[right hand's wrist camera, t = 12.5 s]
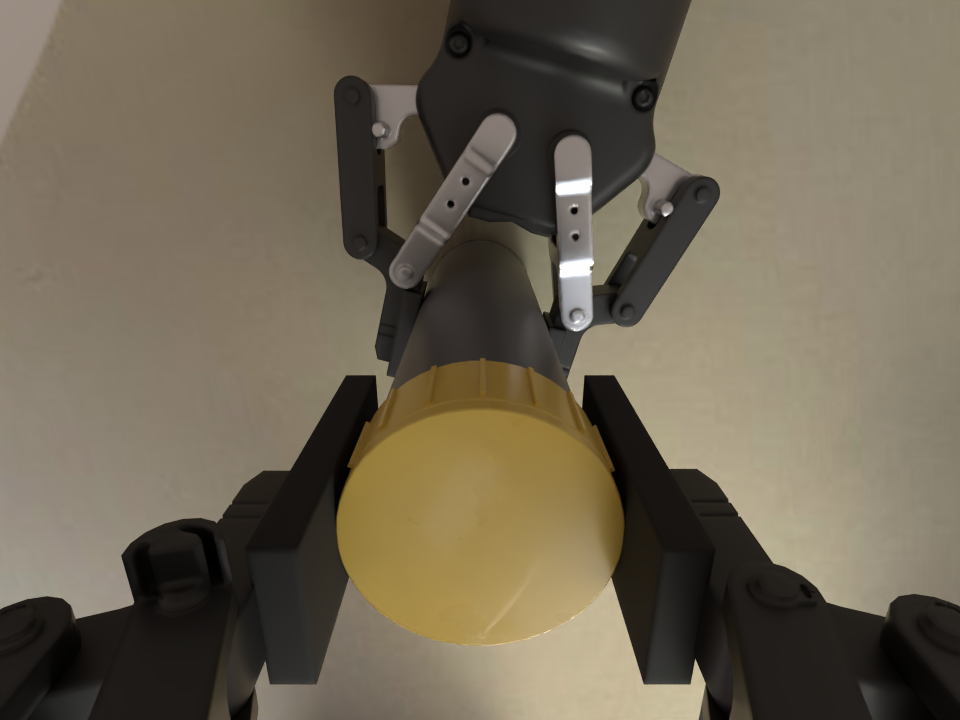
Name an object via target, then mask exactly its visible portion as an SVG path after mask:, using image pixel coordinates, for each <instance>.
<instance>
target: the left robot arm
mask: <svg viewBox="0 0 960 720" xmlns="http://www.w3.org/2000/svg"><path fill="white" fill-rule="evenodd" d="M690 3H691V0H451V3H450V8H449V13H448V18H447V22H446V27H445V32H444V37H443V41H442V45H441V48H440V51H439V53H438V55H437V57H436V59H435V61H434V62H433V64H432V65H431V67H430V68H429V69H428V70H427V72H426V73H425V74H424V75H423V76H422V78H421V80H420V82H419V84H418V85H400V84H370V83H367V82H366V81H364V80H362V79H360V78H359V77H356V76H346V77H343V78H342V79H341V80H339V82H338V83H337V84H336V86H335V90H334V103H335V119H336V134H337V150H338V166H339V181H340V197H341V212H342V228H343V243H344V247H345V249H346V251H347V253H348V254H349V255H350V256H352V257H354V258H356V259H363V260H365V261H366V262H368V263H369V264H371V265H372V266H374V267H375V268H377V269H378V270H379V271H380V272H381V273H382V274H383V276H384V277H385V280H386V284H387V289H386V294H385V299H384V304H383V309H382V314H381V319H380V324H379V329H378V334H377V339H376V344H375V349H376V354H377V359H379V360H383V361H387V362H389V366H388V370H387V376H391V377H395V375H396V373H397V370H398V367H399V365H400V362H401V359H402V356H403V354H404V351H405V348H406V346H407V343H408V340H409V338H410V335H411V332H412V329H413V327H414V324H415V321H416V319H417V316H418V313H419V311H420V308H421V305H422V302H423V300H424V296H425V291H426V287H427V283H428V282H427V281H423V278H424V274H425V273H426V271H427V270H428V268H429V267H430V265H431V264H432V262H433V261H434V259H435V258H436V256H437V255H438V253H439V252H440V250H441V249H442V247H443V246H444V245H445V243H446V242H447V241H448V239H449V238H450V237H451V235H452V234H453V232H454V231H455V229H456V228H457V226H458V225H459V223H460V222H461V220H462V219H463V217H464V216H465V214H466V213H468V214H469V215H468V216H469V217H473V218H477V219H480V220H484V221H488V222H513V223H515V224H517V225H519V226H520V227H522V228H524V229H526V230H527V231H529V232H531V233H534V234H537V235H541V236H545V237H548V245H549V255H550V260H551V272H552V288H553V304H552V307H551V310H550V313H548V312H543V318H544V321H545V323H546V326H547V329H548V332H549V334H550V337H551V340H552V342H553V345H554V348H555V350H556V353H557V356H558V358H559V361H560V364H561V367H562V369H563V372H564V375H565V377H566V380H567V377H568V374H569V372H570V369H571V366H572V363H573V360H574V357H575V354H576V351H577V348H578V345H579V342H580V339H581V337H582V335H583V334H584V332H585V331H586V330H588V329H589V328H591V327H593V326H595V325H602V324H613V323H616V324H617V325H619V326H622V327H630V326H633V325H635V324H637V323H638V322H639V321H640V320H641V318H642V317H643V315H644V314H645V312H646V310H647V309H648V307H649V306H650V304H651V303H652V301H653V300H654V298H655V297H656V295H657V294H658V292H659V291H660V289H661V287H662V286H663V284H664V283H665V281H666V280H667V278H668V277H669V275H670V274H671V272H672V271H673V269H674V268H675V266H676V264H677V263H678V261H679V260H680V258H681V257H682V255H683V254H684V252H685V251H686V249H687V248H688V246H689V245H690V243H691V241H692V240H693V238H694V237H695V235H696V234H697V232H698V231H699V229H700V228H701V226H702V225H703V223H704V222H705V220H706V218H707V217H708V215H709V214H710V212H711V211H712V209H713V208H714V206H715V205H716V203H717V201H718V199H719V196H720V188H719V185H718V183H717V182H716V181H715V180H714V179H712V178H710V177H705V176H702V175H697V174H691V173H689V172H687V171H685V170H684V169H682V168H680V167H679V166H677V165H675V164H674V163H672V162H670V161H669V160H667V159H665V158H663V157H662V156H660V155H658V154H657V153H655V137H654V131H653V116H654V110H655V106H656V103H657V100H658V97H659V94H660V92H661V89H662V86H663V83H664V80H665V77H666V74H667V71H668V68H669V65H670V62H671V59H672V56H673V53H674V50H675V47H676V44H677V41H678V39H679V36H680V33H681V30H682V27H683V24H684V21H685V18H686V15H687V12H688V9H689V6H690ZM414 116H419V118H420V120H421V123H422V125H423V128H424V130H425V133H426V135H427V138H428V140H429V143H430V146H431V148H432V151H433V153H434V156H435V158H436V161H437V163H438V166H439V168H440V171H441V173H442V176H443V178H444V182H443V184H442V185H441V187H440V189H439V190H438V192H437V193H436V195H435V196H434V198H433V199H432V201H431V202H430V204H429V205H428V207H427V209H426V210H425V212H424V213H423V215H422V216H421V218H420V219H419V221H418V223H417V224H416V226H415V228H414V229H413V231H412V232H411V234H410V235H409V237H408V238H407V240H404V239H403V238H401V237H400V236H398V235H397V234H395V233H394V232H392V231H391V230H389V229H388V228H387V207H386V178H385V150H384V149H391V148H393V147H395V146H397V145H398V144H399V142H400V141H401V138H402V134H403V128H404V125H405V123H406V122H407V121H408V120H409V119H410V118H412V117H414ZM637 179H639V180H640V182H641V185H642V193H641V196H640V199H639V201H638V211H639V214H640V215H641V216H642V217H643V218H644V220H643V221H642V223H641V225H640V226H639V228H638V229H637V231H636V233H635V234H634V236H633V238H632V239H631V241H630V243H629V244H628V246H627V247H626V249H625V251H624V252H623V254H622V256H621V257H620V259H619V260H618V262H617V264H616V265H615V267H614V269H613V270H612V272H611V274H610V275H609V277H608V278H607V280H606V282H605V283H604V285H597V286H592V268H593V264H594V253H593V225H592V215H593V214H594V213H595V212H597V211H598V210H599V209H600V208H602V207H603V206H604V205H605V204H607V203H608V202H609V201H610V200H612V199H613V198H614V197H615V196H617V195H618V194H619V193H620V192H622V191H623V190H624V189H625V188H627V187H628V186H629V185H630V184H632V183H633V182H634V181H635V180H637Z"/></svg>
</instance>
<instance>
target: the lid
mask: <svg viewBox="0 0 960 720" xmlns="http://www.w3.org/2000/svg"><path fill="white" fill-rule="evenodd" d="M347 467H349V468H351V470H350V472H349V475H348V477H347V480H346V482H345V485H344V488H343V490H342V493H341V496H340V499H339V503H338V508H337V513H336V533H337V542H338V549H339V553H340V556H341V559H342V563H343V565H344V567H345V569H346V571H347V573H348V576H349V577H350V579H351V580H352V582H353V583H354V585H355V587H356V588H357V590H358V591H359V592H360V593H361V594H362V595H363V597H364V598H365V599H366V600H367V601H368V602H369V603H370V604H371V605H372V606H373V607H374V608H376V609H377V610H378V611H379V612H380V613H381V614H383V615H384V616H386V617H387V618H389V619H390V620H391V621H393V622H395V623H396V624H398V625H400V626H402V627H404V628H406V629H407V630H410V631H412V632H415V633H417V634H419V635H422V636H425V637H428V638H431V639H435V640H438V641H443V642H448V643H453V644H461V645H473V646H482V645H499V644H508V643H513V642H517V641H522V640H526V639H529V638H532V637H535V636H539V635H542V634H544V633H546V632H548V631H551V630H553V629H555V628H557V627H559V626H561V625H562V624H564V623H566V622H567V621H569V620H571V619H572V618H574V617H575V616H576V615H578V614H579V613H580V612H582V611H583V610H584V609H585V608H586V607H587V606H588V605H589V604H590V603H591V602H593V601H594V600H595V599H596V597H597V596H598V595H599V594H600V592H601V591H602V590H603V589H604V587H605V586H606V585H607V583H608V581H609V580H610V578H611V576H612V575H613V573H614V571H615V568H616V566H617V563H618V561H619V559H620V555H621V551H622V545H623V536H624V527H625V519H624V509H623V505H622V501H621V497H620V494H619V491H618V489H617V486H616V484H615V481H614V479H613V476H612V474H611V472H613V471H615V469H614V467H613V464H612V462H611V459H610V457H609V455H608V452H607V450H606V447H605V445H604V443H603V440H602V438H601V435H600V433H599V431H598V428H597V426H596V425H594V426H592V424H591V422H590V421H589V419H588V417H587V416H586V414H585V412H584V411H583V409H582V408H581V407H580V406H579V404H578V403H577V402H576V401H575V398H574V396H573V393H572V392H571V391H568V392H566V391H565V390H564V389H563V388H561V387H560V386H558V385H557V384H556V383H554V382H553V381H551V380H550V379H548V378H546V377H544V376H542V375H540V374H538V373H536V372H534V369H533V368H531V367H528V369H526V368H523V367H521V366H517V365H513V364H508V363H504V362H495V361H485V358H480V361H465V362H458V363H452V364H448V365H444V366H440V367H437V366H436V365H435V366H432V367H431V370H429V371H427V372H424V373H422V374H420V375H418V376H416V377H415V378H413V379H411V380H409V381H408V382H406V383H405V384H403V385H402V386H401V387H400V388H398V389H397V390H396V389H395V388H393V389H392V390H391V392H390V394H389V397H388V398H387V399H386V400H385V401H384V402H383V404H382V405H381V406H380V408H379V409H378V410H377V412H376V413H375V414H374V416H373V418H372V420H371V422H370V423H369V422H367V421H366V423H365V425H364V427H363V430H362V432H361V435H360V437H359V439H358V442H357V444H356V447H355V449H354V451H353V454H352V456H351V459H350V461H349V463H348V466H347Z"/></svg>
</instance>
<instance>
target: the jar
mask: <svg viewBox="0 0 960 720" xmlns="http://www.w3.org/2000/svg"><path fill="white" fill-rule="evenodd" d="M480 358H485V361H495V362H504V363H508V364H513V365H517V366H521V367H523V368H526V369H528V367H531V368H533V369H534V372H536V373H538V374H540V375H542V376H544V377H546V378H548V379H550V380H551V381H553V382H554V383H556V384H557V385H558V386H560V387H561V388H563V389H564V390H565V391H566V392H568V391H570V388H569V385H568V383H567V380H566V377H565V375H564V372H563V369H562V367H561V364H560V361H559V358H558V356H557V353H556V350H555V348H554V345H553V342H552V340H551V337H550V334H549V332H548V329H547V326H546V323H545V321H544V318H543V315H542V313H541V310H540V307H539V305H538V302H537V299H536V296H535V294H534V291H533V288H532V286H531V283H530V280H529V278H528V275H527V272H526V270H525V268H524V266H523V264H522V262H521V261H520V260H519V258H518V257H517V256H516V255H515V254H514V253H513V252H512V251H510V250H509V249H508V248H506V247H504V246H502V245H500V244H498V243H495V242H491V241H485V240H476V241H469V242H465V243H463V244H460V245H458V246H456V247H454V248H453V249H451V250H450V251H449V252H447V253H446V254H445V255H444V256H443V257H442V259H441V260H440V261H439V263H438V264H437V266H436V268H435V270H434V273H433V275H432V278H431V281H430V284H429V286H428V289H427V292H426V294H425V297H424V300H423V302H422V305H421V308H420V311H419V313H418V316H417V319H416V321H415V324H414V327H413V329H412V332H411V335H410V338H409V340H408V343H407V346H406V348H405V351H404V354H403V356H402V359H401V362H400V365H399V367H398V370H397V373H396V375H395V378H394V381H393V383H392V386H391V389H390V392H391V390H392V389H393V388H395V389H396V390H397V389H398V388H400V387H401V386H402V385H403V384H405V383H406V382H408V381H409V380H411V379H413V378H415V377H416V376H418V375H420V374H422V373H424V372H427V371H429V370H431V367H432V366H435V365H436V366H437V367H440V366H444V365H448V364H452V363H458V362H465V361H480ZM390 392H389V394H390ZM389 394H388V397H389ZM388 397H387V398H388Z"/></svg>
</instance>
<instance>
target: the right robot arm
mask: <svg viewBox="0 0 960 720" xmlns="http://www.w3.org/2000/svg"><path fill="white" fill-rule="evenodd" d="M582 409H583V411H584V412H585V414H586V416H587V417H588V419H589V421H590V422H591V424H592V426H594V425H596V426H597V428H598V431H599V433H600V435H601V438H602V440H603V443H604V445H605V447H606V450H607V452H608V455H609V457H610V459H611V462H612V464H613V467H614V469H615V471H613V472H611V474H612V476H613V479H614V481H615V484H616V486H617V489H618V491H619V494H620V497H621V501H622V505H623V509H624V519H625V527H624V536H623V545H622V551H621V555H620V559H619V561H618V563H617V566H616V568H615V571H614V573H613V575H612V576H611V578H612V581H613V584H614V588H615V591H616V594H617V597H618V601H619V604H620V607H621V611H622V614H623V617H624V620H625V624H626V627H627V630H628V634H629V637H630V640H631V643H632V647H633V650H634V653H635V657H636V660H637V663H638V666H639V670H640V673H641V676H642V680H643V683H644V684H690V683H691V678H692V673H693V667H694V662H695V659H696V661H697V663H698V666H699V668H700V670H701V673H702V675H703V678H704V680H705V682H706V686H705V691H704V696H703V701H702V706H701V711H700V715H699V720H960V606H958V605H956V604H953V603H950V602H947V601H945V600H941V599H938V598H936V597H930V596H924V595H917V594H911V595H904V596H899V597H897V598H896V599H895V600H894V601H893V602H891V603H890V606H889V609H888V612H887V615H886V617H883V616H879V615H874V614H870V613H866V612H862V611H857V610H853V609H849V608H844V607H840V606H837V605H834V604H830V603H827V602H826V601H825V599H824V598H823V596H822V595H821V593H820V592H819V590H818V589H817V588H816V587H815V586H814V585H813V584H812V583H810V582H809V581H808V580H807V579H806V578H804V577H803V576H802V575H800V574H798V573H796V572H794V571H792V570H790V569H788V568H786V567H783V566H780V565H776V564H773V562H772V561H771V559H770V558H769V557H768V555H767V554H766V552H765V551H764V550H763V548H762V547H761V545H760V544H759V542H758V541H757V540H756V538H755V537H754V535H753V534H752V532H751V531H750V530H749V528H748V527H747V525H746V524H745V523H744V521H743V520H742V518H741V517H738V513H737V511H736V510H735V508H734V507H733V505H732V504H731V503H729V502H728V498H727V497H726V496H725V494H724V493H723V491H722V490H721V488H720V487H719V486H718V484H717V483H716V482H714V481H713V480H712V479H710V478H709V477H707V476H706V475H705V474H703V473H702V472H700V471H699V470H698V469H669V468H668V466H667V465H666V463H665V461H664V460H663V458H662V456H661V455H660V453H659V451H658V449H657V448H656V446H655V444H654V443H653V441H652V439H651V437H650V436H649V434H648V432H647V431H646V429H645V427H644V426H643V424H642V422H641V420H640V419H639V417H638V415H637V414H636V412H635V410H634V408H633V407H632V405H631V403H630V402H629V400H628V398H627V397H626V395H625V393H624V391H623V390H622V388H621V386H620V385H619V383H618V381H617V379H616V378H615V376H614V375H585V377H584V391H583V404H582ZM377 410H378V400H377V386H376V375H346V377H345V378H344V380H343V382H342V383H341V385H340V387H339V389H338V390H337V392H336V394H335V395H334V397H333V399H332V400H331V402H330V404H329V406H328V407H327V409H326V411H325V412H324V414H323V416H322V418H321V419H320V421H319V423H318V424H317V426H316V428H315V430H314V431H313V433H312V435H311V436H310V438H309V440H308V441H307V443H306V445H305V447H304V448H303V450H302V452H301V453H300V455H299V457H298V459H297V460H296V462H295V464H294V465H293V467H292V469H291V470H290V471H263V472H261V473H260V474H258V475H257V476H256V477H254V478H253V479H251V480H250V481H249V482H247V483H246V484H244V485H243V487H242V488H241V490H240V491H239V493H238V494H237V495H236V497H235V498H234V500H233V501H232V505H229V507H228V508H227V510H226V511H225V513H224V514H223V518H222V519H220V520H219V521H218V523H216V522H215V521H211V520H206V519H202V518H193V519H181V520H177V521H173V522H169V523H165V524H163V525H161V526H158V527H156V528H154V529H152V530H150V531H147V532H146V533H144V534H143V535H141V536H140V537H139V538H137V539H136V540H135V541H133V542H132V543H131V544H130V545H129V546H128V547H127V549H126V550H125V551H124V553H123V554H122V555H121V557H122V560H123V564H124V567H125V571H126V574H127V578H128V581H129V584H130V588H131V591H132V595H133V598H134V604H133V605H131V606H128V607H125V608H121V609H117V610H113V611H109V612H105V613H100V614H96V615H92V616H87V617H83V618H79V619H75V616H74V613H73V610H72V608H71V605H69V604H68V603H67V602H66V601H65V600H63V599H62V598H55V597H48V596H46V597H39V598H33V599H27V600H24V601H21V602H18V603H15V604H12V605H10V606H7V607H4V608H2V609H0V720H257V715H258V703H257V696H256V691H255V684H256V681H257V679H258V677H259V674H260V672H261V669H262V667H263V665H264V662H265V660H266V666H267V671H268V676H269V682H270V684H317V681H318V677H319V674H320V671H321V668H322V664H323V661H324V658H325V654H326V651H327V648H328V645H329V641H330V638H331V635H332V631H333V628H334V625H335V622H336V618H337V615H338V612H339V608H340V605H341V602H342V599H343V595H344V592H345V589H346V585H347V582H348V579H349V576H348V573H347V571H346V569H345V567H344V565H343V563H342V559H341V556H340V553H339V549H338V542H337V533H336V513H337V508H338V503H339V499H340V496H341V493H342V490H343V488H344V485H345V482H346V480H347V477H348V475H349V472H350V470H351V468H349V467H347V466H348V463H349V461H350V459H351V456H352V454H353V451H354V449H355V447H356V444H357V442H358V439H359V437H360V435H361V432H362V430H363V427H364V425H365V423H366V421H367V422H369V423H370V422H371V420H372V418H373V416H374V414H375V413H376V412H377Z"/></svg>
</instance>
